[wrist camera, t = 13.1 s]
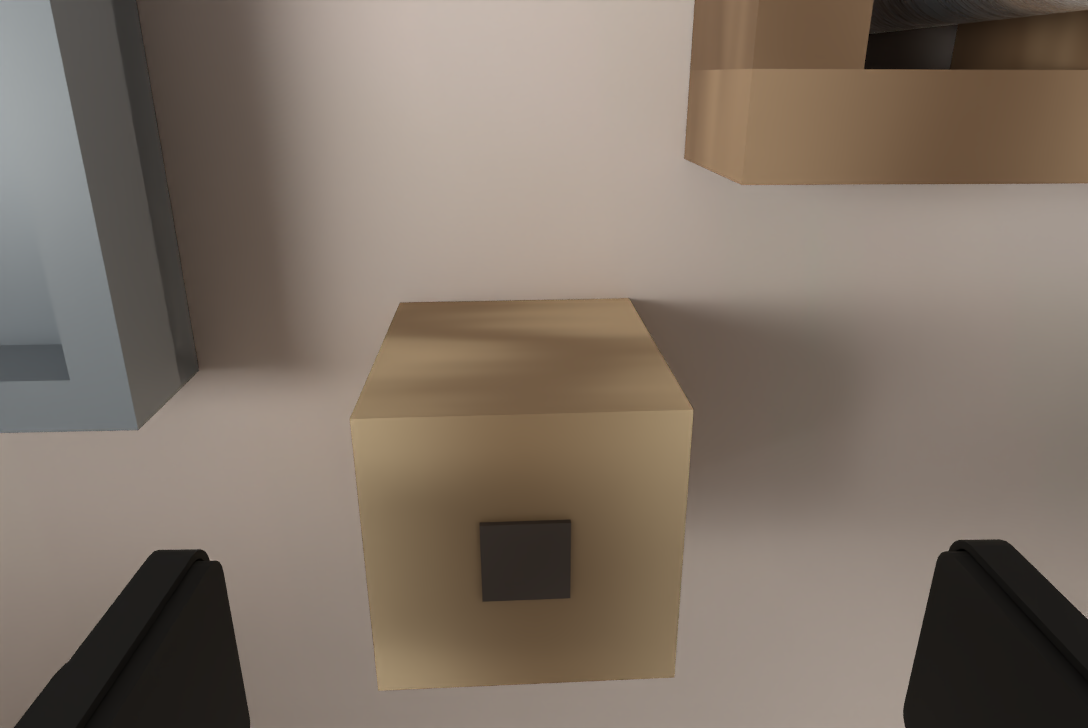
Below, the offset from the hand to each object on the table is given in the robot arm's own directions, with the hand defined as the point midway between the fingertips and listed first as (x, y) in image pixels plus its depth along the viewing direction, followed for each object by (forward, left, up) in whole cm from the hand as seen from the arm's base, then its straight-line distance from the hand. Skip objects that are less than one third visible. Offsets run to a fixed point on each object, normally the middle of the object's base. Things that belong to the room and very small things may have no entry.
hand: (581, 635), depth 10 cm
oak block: (-1, 0, -8) cm, 8 cm away
